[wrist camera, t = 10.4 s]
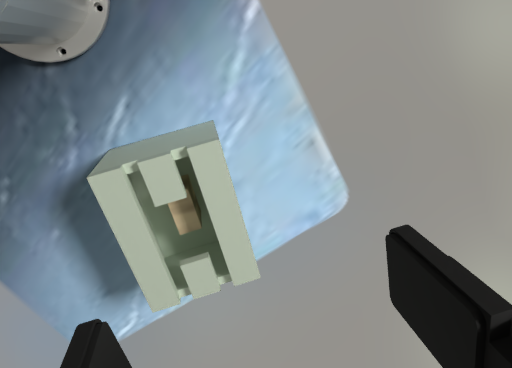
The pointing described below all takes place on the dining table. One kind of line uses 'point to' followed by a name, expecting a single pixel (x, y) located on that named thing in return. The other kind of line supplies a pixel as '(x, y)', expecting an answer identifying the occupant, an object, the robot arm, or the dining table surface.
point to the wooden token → (186, 210)
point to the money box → (162, 222)
